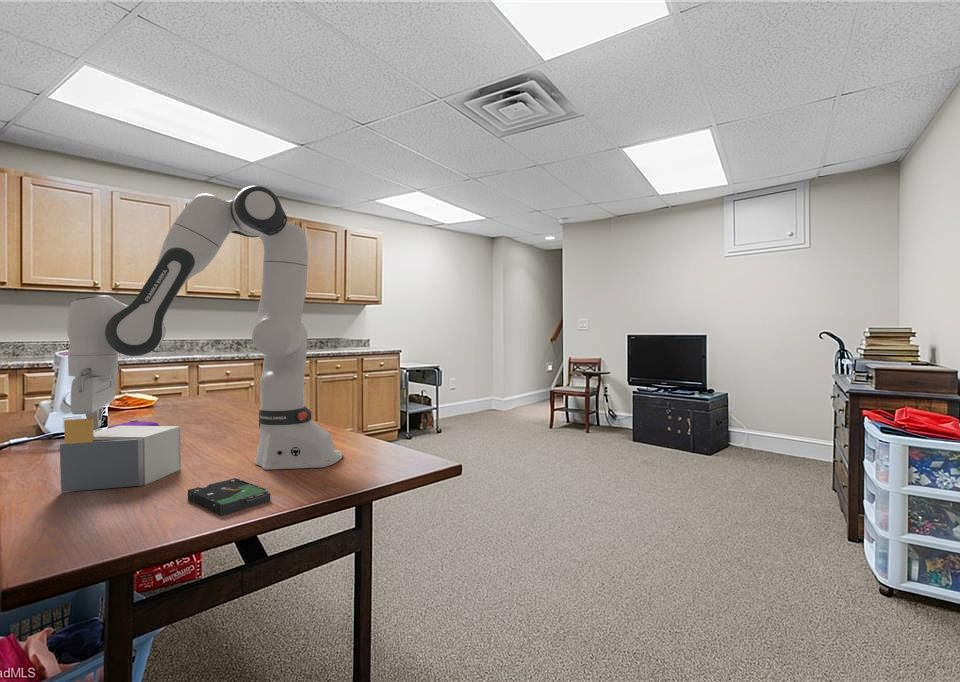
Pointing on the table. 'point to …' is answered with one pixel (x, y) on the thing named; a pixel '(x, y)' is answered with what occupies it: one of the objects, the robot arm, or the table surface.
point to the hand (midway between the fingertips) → (94, 427)
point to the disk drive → (228, 496)
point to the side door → (98, 459)
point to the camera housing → (150, 447)
